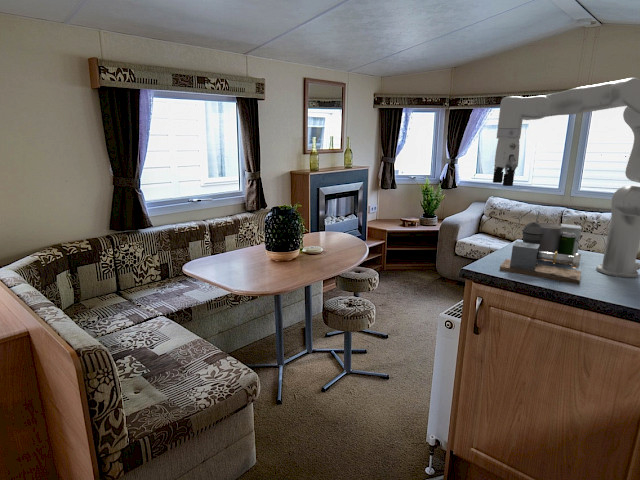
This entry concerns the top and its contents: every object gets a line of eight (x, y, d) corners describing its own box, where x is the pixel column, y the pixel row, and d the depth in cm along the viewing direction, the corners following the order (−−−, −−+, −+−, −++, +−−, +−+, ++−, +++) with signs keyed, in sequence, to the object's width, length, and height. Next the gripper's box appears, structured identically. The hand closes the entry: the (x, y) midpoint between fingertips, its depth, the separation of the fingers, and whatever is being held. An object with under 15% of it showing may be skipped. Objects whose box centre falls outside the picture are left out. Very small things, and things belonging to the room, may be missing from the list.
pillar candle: (529, 253, 174) (534, 218, 171) (556, 256, 170) (562, 221, 166) (530, 259, 166) (535, 223, 162) (557, 263, 162) (563, 225, 158)
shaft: (578, 266, 145) (581, 252, 143) (578, 270, 140) (580, 255, 139) (523, 257, 154) (525, 244, 153) (521, 261, 150) (523, 247, 148)
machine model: (580, 275, 148) (585, 249, 145) (579, 284, 138) (584, 257, 136) (505, 262, 161) (508, 239, 159) (499, 270, 151) (502, 245, 149)
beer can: (566, 265, 158) (572, 235, 155) (552, 262, 163) (557, 232, 160) (574, 263, 161) (579, 233, 158) (559, 260, 166) (564, 231, 163)
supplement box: (556, 255, 172) (561, 226, 169) (555, 251, 178) (560, 223, 175) (576, 258, 168) (582, 228, 165) (575, 254, 175) (580, 225, 172)
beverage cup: (521, 257, 169) (528, 209, 164) (540, 260, 164) (548, 211, 159) (516, 261, 163) (523, 211, 158) (536, 265, 159) (544, 213, 154)
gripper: (530, 134, 134) (523, 187, 138) (510, 134, 150) (504, 181, 154) (507, 134, 134) (500, 186, 138) (489, 134, 151) (483, 181, 155)
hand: (502, 184), depth 146 cm, fingers open, 9 cm apart
